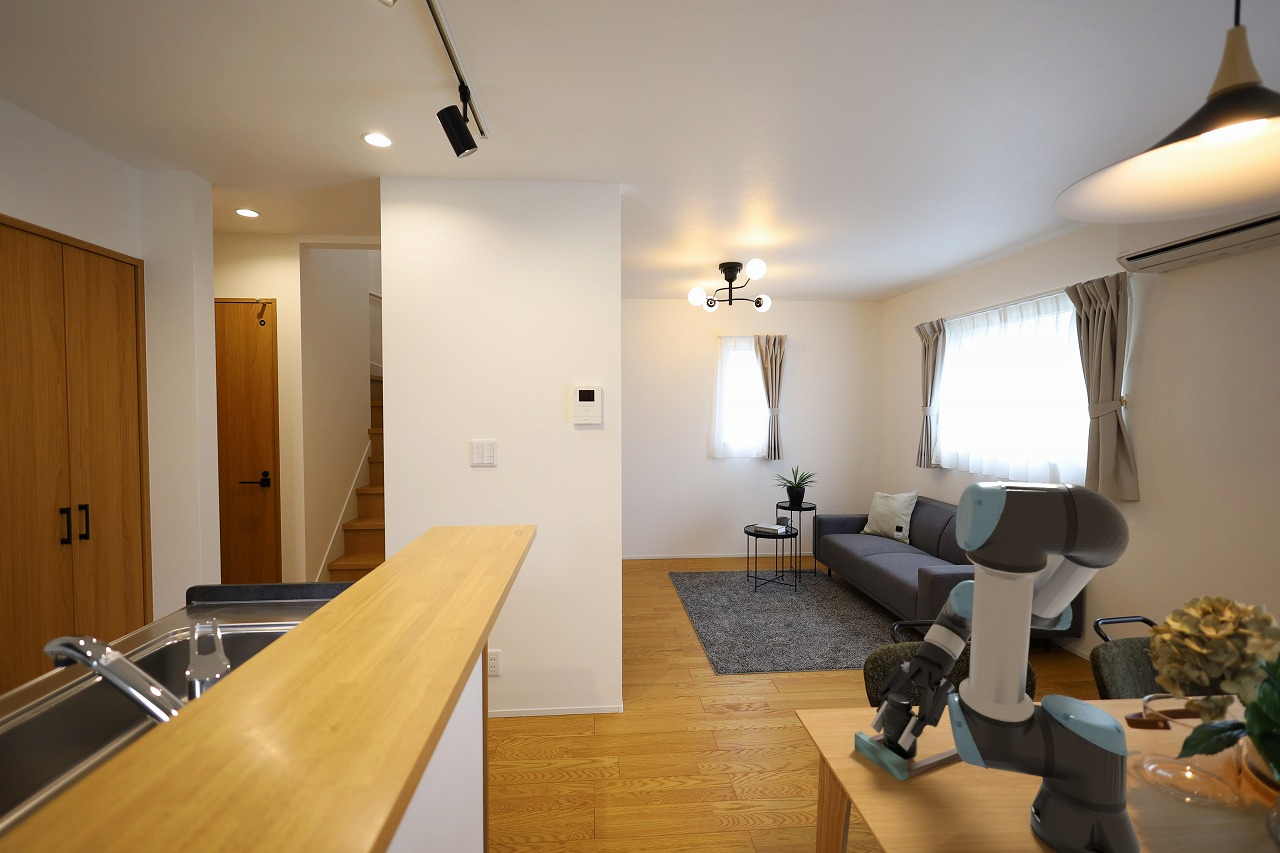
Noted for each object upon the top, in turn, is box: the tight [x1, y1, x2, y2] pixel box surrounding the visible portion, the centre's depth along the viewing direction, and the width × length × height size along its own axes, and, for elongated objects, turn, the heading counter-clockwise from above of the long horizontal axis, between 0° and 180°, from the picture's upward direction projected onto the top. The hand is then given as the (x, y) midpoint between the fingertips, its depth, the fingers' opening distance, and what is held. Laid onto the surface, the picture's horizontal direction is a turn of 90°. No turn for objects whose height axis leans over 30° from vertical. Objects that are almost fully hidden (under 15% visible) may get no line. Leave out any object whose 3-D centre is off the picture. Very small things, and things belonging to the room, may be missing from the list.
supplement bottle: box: [882, 693, 918, 761], centre depth 123 cm, size 7×7×12 cm
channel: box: [854, 730, 962, 782], centre depth 124 cm, size 12×20×4 cm, turn 114°
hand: (888, 737), depth 121 cm, fingers closed on supplement bottle, 7 cm apart
